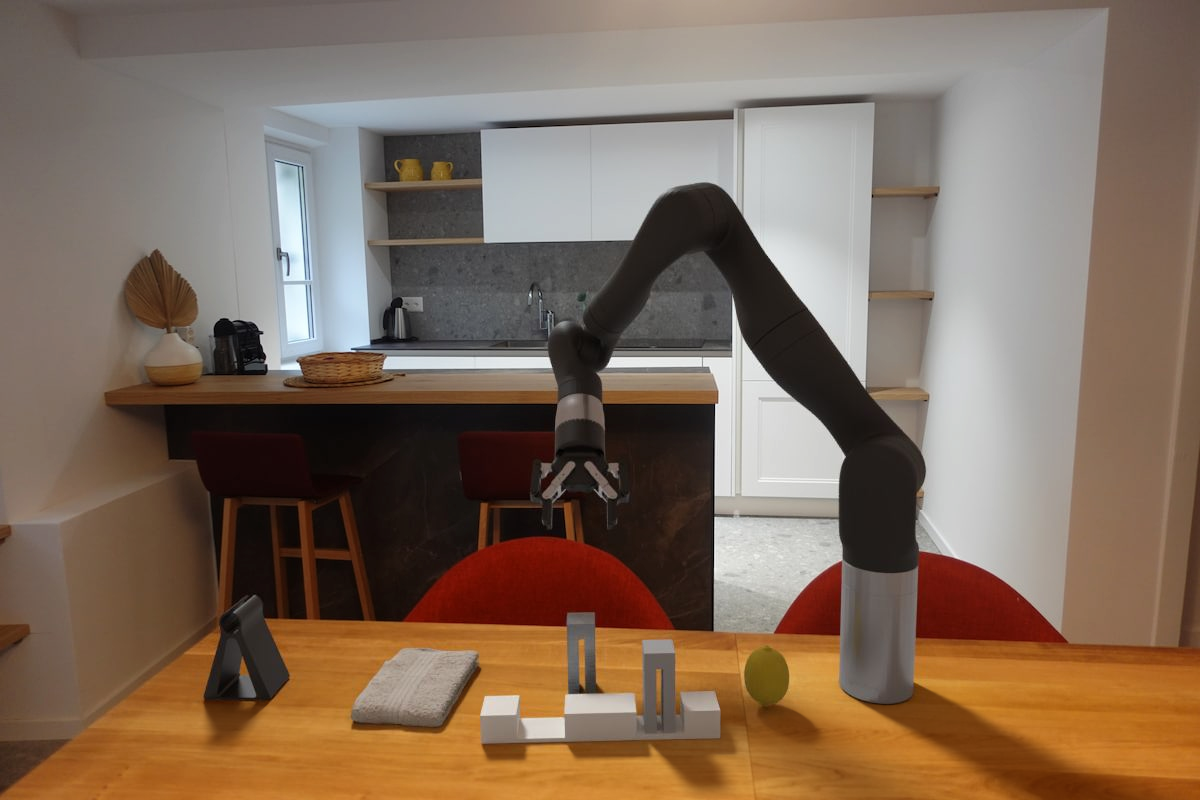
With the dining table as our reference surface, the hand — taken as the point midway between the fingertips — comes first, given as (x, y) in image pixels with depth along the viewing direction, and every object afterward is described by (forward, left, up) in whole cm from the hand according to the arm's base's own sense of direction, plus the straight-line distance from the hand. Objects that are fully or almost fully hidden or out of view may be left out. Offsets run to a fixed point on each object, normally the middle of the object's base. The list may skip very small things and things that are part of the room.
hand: (579, 527), depth 114 cm
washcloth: (+20, -11, -20) cm, 31 cm away
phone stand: (+34, -30, -19) cm, 49 cm away
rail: (+13, +14, -19) cm, 28 cm away
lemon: (-4, +27, -19) cm, 34 cm away
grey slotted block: (+7, +6, -19) cm, 22 cm away
